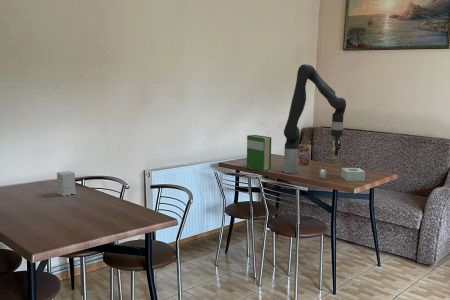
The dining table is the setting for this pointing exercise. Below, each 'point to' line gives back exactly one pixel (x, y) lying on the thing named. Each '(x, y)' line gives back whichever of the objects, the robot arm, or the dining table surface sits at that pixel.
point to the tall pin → (334, 158)
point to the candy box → (304, 155)
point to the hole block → (353, 174)
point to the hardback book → (259, 152)
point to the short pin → (322, 174)
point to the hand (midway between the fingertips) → (335, 154)
